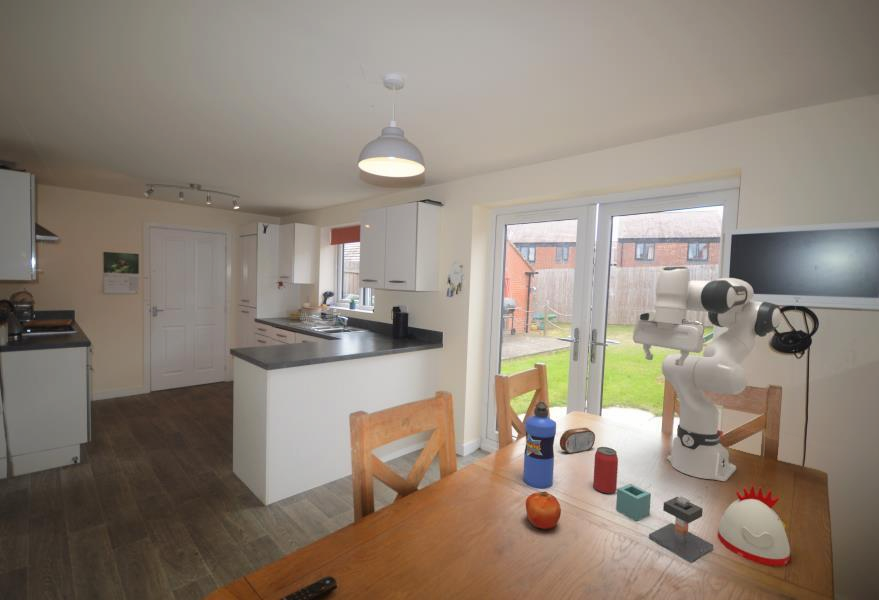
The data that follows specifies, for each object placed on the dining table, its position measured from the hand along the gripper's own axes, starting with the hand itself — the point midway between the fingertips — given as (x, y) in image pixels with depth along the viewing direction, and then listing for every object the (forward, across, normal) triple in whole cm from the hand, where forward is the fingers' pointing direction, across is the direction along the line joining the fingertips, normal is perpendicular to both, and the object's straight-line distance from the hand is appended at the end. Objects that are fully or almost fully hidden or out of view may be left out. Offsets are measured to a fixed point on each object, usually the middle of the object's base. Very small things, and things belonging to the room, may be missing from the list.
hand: (663, 362), depth 127 cm
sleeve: (+41, -6, +17) cm, 44 cm away
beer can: (+40, +6, +13) cm, 43 cm away
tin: (+39, +29, -2) cm, 49 cm away
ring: (+33, -20, +20) cm, 44 cm away
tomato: (+44, +2, +43) cm, 61 cm away
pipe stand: (+41, -20, +19) cm, 49 cm away
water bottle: (+42, +19, +28) cm, 54 cm away
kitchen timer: (+40, -29, +4) cm, 49 cm away
